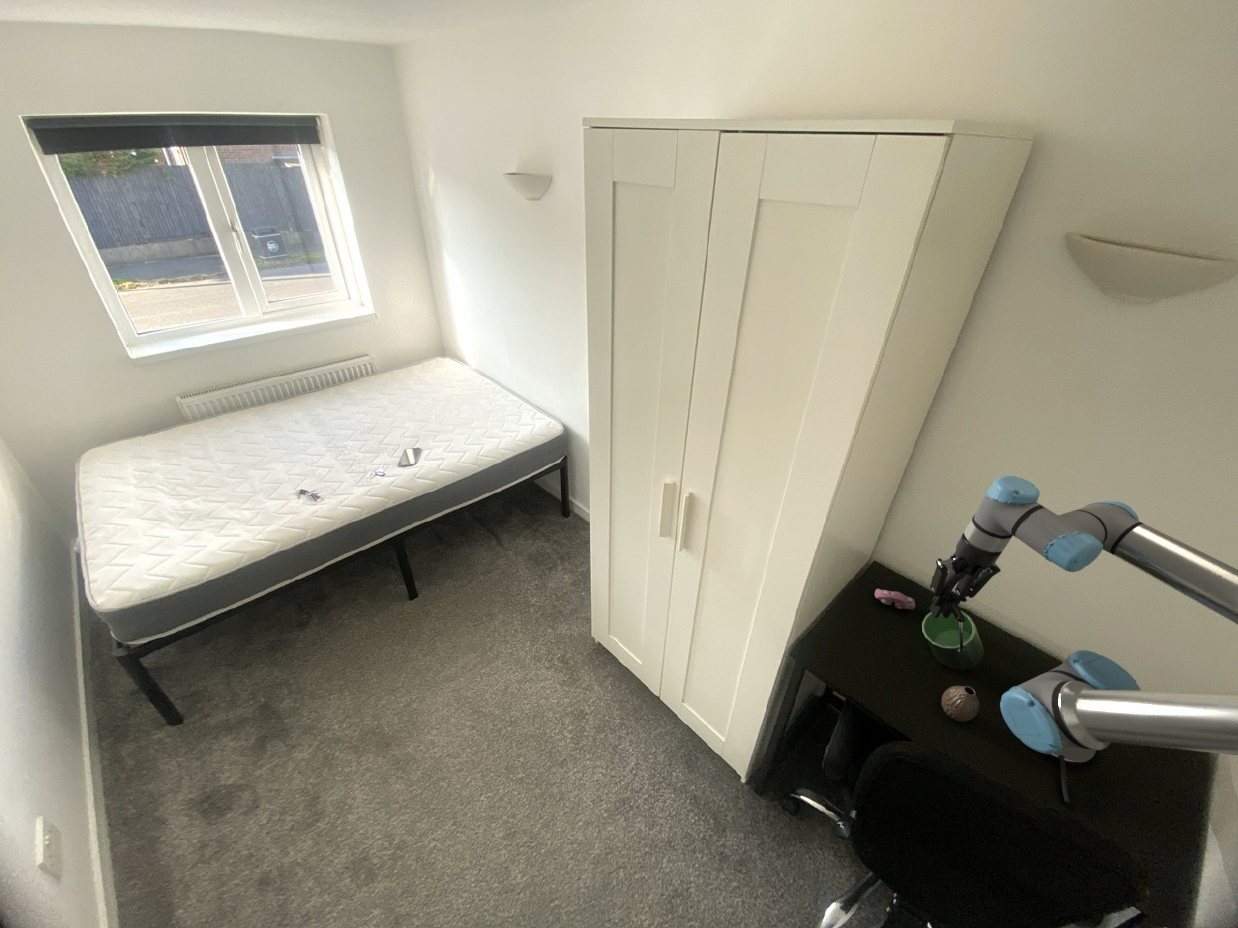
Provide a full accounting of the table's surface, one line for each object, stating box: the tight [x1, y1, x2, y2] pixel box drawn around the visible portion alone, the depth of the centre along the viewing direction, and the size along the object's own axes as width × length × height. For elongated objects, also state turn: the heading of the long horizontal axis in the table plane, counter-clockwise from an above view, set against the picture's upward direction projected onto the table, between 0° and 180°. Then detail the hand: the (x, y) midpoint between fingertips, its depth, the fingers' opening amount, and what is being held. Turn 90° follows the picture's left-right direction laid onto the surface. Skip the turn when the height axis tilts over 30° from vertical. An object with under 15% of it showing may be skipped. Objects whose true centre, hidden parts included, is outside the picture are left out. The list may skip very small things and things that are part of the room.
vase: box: [940, 685, 980, 723], centre depth 115 cm, size 7×7×9 cm
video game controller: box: [874, 588, 916, 610], centre depth 141 cm, size 10×5×7 cm, turn 67°
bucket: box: [921, 576, 985, 671], centre depth 122 cm, size 11×13×22 cm
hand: (938, 613), depth 120 cm, fingers closed on bucket, 2 cm apart
